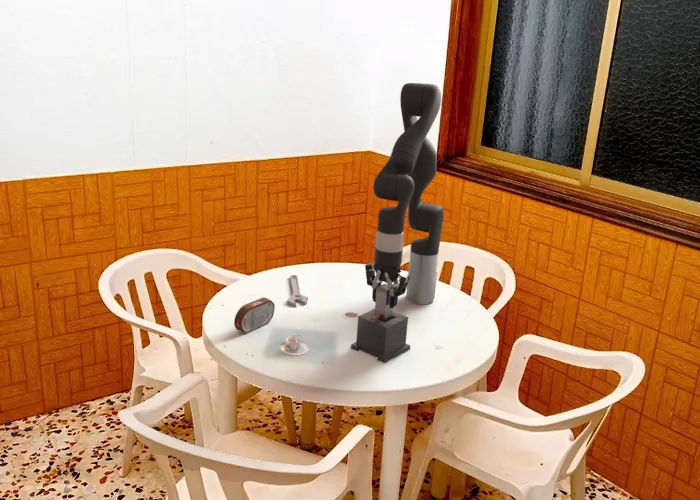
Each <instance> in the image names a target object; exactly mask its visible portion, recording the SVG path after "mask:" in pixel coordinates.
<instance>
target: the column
mask: <svg viewBox="0 0 700 500" xmlns="http://www.w3.org/2000/svg"><path fill="white" fill-rule="evenodd" d="M390 296H391V293H390V289H389V288H388V285H387V283H383V284H381V285H380V286H377V288H376V301H375V302H374V303H375V304H374V309H375V314H374V315H377V316H379V320H380V321H382V322H388V321H390V320H392V314H393V312H394V308H390V307H389V304H390Z"/></svg>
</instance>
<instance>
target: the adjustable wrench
mask: <svg viewBox="0 0 700 500" xmlns="http://www.w3.org/2000/svg"><path fill="white" fill-rule="evenodd" d="M289 280H290V281H291V282H290V286H292V287H291V292H292V295H291V296H290V297H289V298H288V299H287V304H288V305H289V306H290V307H293V308H297V303H301V304H302V305H303V306H306V305H307V304H308V301H309V297H308V296H306V295H302V294H301V291H300V285H299V278H298V275H297V274H291V275H290V276H289Z"/></svg>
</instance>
